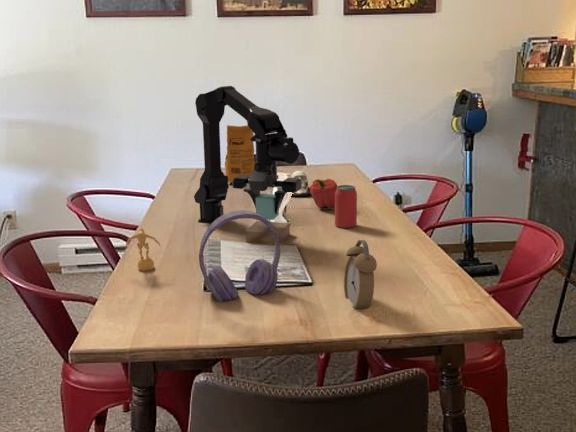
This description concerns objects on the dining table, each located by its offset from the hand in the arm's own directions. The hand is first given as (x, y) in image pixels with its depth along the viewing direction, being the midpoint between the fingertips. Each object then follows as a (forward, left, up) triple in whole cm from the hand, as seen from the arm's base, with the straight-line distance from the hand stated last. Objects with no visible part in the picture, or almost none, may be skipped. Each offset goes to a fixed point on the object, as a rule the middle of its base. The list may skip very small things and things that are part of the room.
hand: (267, 213), depth 179 cm
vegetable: (+6, +38, -8) cm, 39 cm away
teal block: (0, 0, -1) cm, 1 cm away
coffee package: (-37, +68, -8) cm, 78 cm away
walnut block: (0, 0, -8) cm, 8 cm away
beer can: (+18, +19, -8) cm, 27 cm away
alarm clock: (+35, -38, -8) cm, 52 cm away
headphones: (+9, -41, -8) cm, 43 cm away
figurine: (-20, -34, -8) cm, 40 cm away
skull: (-4, +56, -10) cm, 57 cm away
